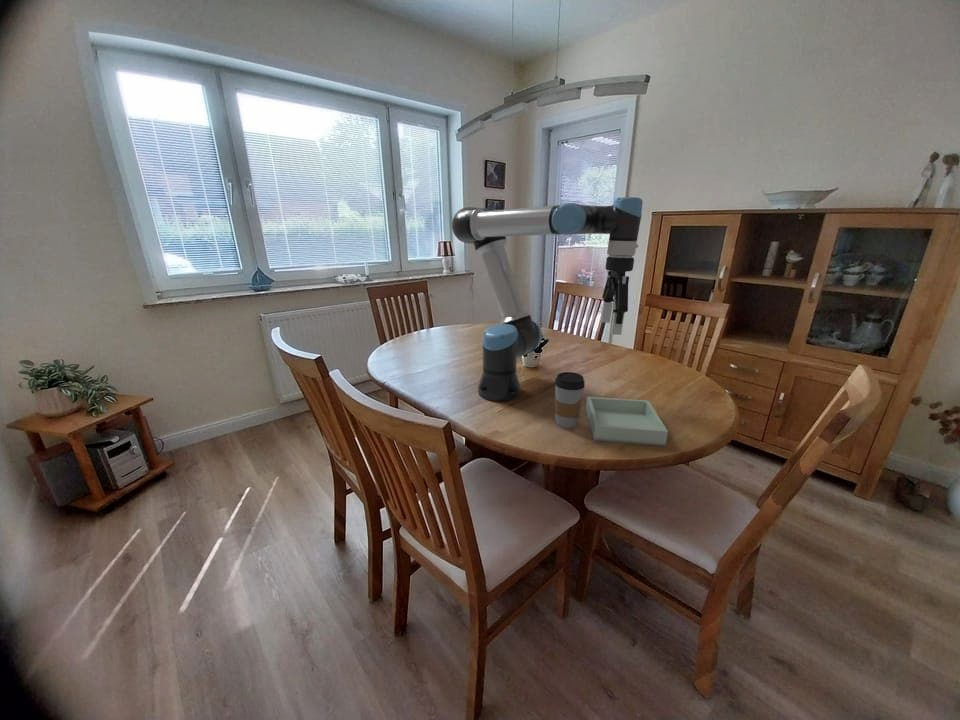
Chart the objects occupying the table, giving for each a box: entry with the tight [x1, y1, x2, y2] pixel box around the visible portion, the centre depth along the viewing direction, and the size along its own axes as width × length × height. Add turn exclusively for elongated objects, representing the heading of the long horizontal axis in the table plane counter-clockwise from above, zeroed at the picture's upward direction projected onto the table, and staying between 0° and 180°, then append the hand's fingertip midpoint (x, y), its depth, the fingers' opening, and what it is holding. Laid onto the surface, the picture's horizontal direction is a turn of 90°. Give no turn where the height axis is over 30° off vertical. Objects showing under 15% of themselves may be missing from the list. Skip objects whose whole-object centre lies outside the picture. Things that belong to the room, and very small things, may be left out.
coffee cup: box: [554, 371, 585, 430], centre depth 104 cm, size 8×8×15 cm
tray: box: [585, 396, 669, 447], centre depth 105 cm, size 18×18×4 cm
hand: (610, 328), depth 111 cm, fingers open, 13 cm apart
